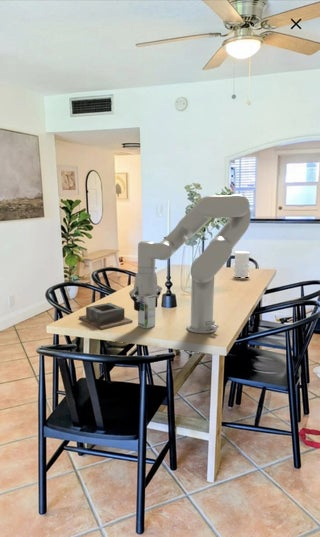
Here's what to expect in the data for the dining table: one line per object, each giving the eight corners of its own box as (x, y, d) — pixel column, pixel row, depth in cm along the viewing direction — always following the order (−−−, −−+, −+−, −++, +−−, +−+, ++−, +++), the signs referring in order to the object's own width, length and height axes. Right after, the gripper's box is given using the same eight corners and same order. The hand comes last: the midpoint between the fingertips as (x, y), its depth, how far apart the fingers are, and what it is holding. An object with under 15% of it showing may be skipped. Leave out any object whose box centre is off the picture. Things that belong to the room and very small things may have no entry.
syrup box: (137, 325, 171) (137, 293, 168) (147, 323, 175) (147, 291, 173) (146, 329, 167) (146, 296, 164) (155, 326, 171) (156, 294, 169)
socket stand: (132, 322, 176) (132, 309, 175) (101, 329, 166) (101, 316, 165) (108, 312, 191) (108, 300, 190) (79, 318, 181) (78, 306, 180)
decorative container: (239, 274, 289) (240, 250, 286) (252, 277, 280) (253, 252, 277) (229, 276, 282) (230, 252, 278) (242, 279, 273) (243, 253, 270)
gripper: (156, 266, 175) (155, 303, 178) (124, 270, 164) (124, 309, 167) (167, 269, 169) (166, 307, 172) (135, 273, 158) (134, 314, 161)
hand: (145, 308), depth 170 cm, fingers open, 9 cm apart
